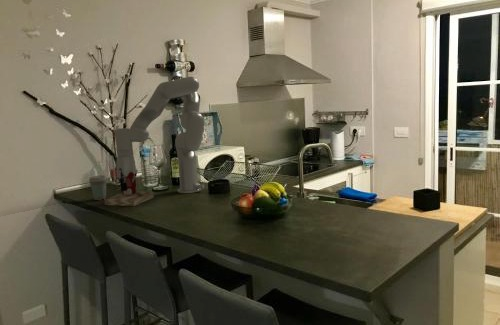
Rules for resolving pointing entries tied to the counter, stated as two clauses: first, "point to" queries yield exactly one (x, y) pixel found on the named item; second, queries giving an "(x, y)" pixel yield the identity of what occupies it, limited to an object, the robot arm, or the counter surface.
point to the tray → (129, 199)
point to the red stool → (130, 185)
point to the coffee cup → (98, 187)
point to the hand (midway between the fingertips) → (128, 188)
